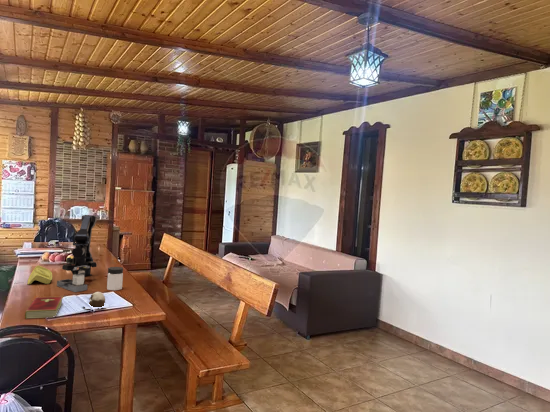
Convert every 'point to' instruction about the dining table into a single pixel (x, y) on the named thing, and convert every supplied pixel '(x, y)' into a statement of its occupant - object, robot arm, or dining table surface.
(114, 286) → the jar
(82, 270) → the beige rectangular block
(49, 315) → the hardcover book
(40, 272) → the plastic component
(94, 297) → the skull
